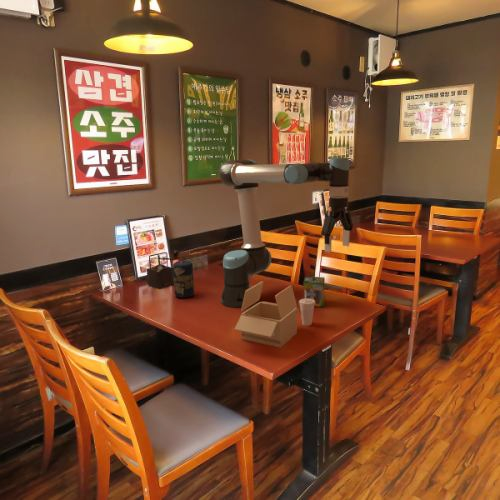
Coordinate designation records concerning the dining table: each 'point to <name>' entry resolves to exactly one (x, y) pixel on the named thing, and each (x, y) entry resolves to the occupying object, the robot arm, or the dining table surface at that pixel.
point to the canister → (183, 278)
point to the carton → (270, 312)
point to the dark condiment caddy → (161, 273)
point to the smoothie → (307, 310)
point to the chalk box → (315, 289)
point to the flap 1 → (252, 295)
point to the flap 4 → (276, 304)
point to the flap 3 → (285, 301)
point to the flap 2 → (256, 326)
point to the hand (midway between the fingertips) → (337, 248)
